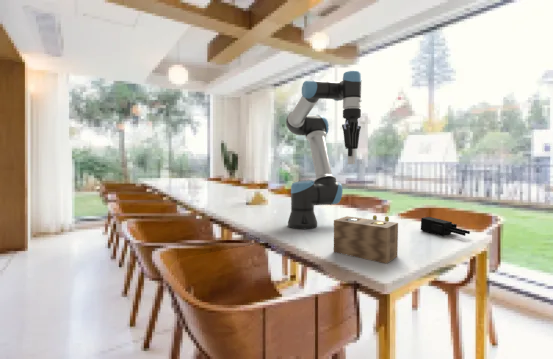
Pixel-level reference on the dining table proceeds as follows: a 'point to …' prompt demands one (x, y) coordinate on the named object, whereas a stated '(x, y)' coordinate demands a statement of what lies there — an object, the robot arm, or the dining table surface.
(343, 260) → the dining table surface
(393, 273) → the dining table surface
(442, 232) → the black pronged block
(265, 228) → the dining table surface
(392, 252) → the socket block
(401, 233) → the dining table surface
